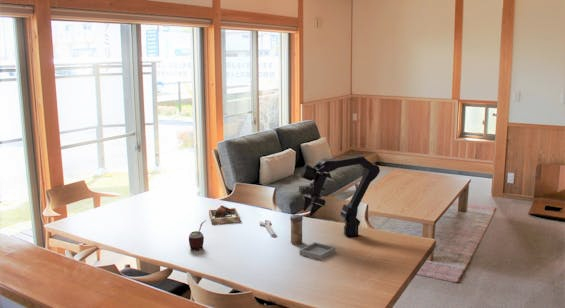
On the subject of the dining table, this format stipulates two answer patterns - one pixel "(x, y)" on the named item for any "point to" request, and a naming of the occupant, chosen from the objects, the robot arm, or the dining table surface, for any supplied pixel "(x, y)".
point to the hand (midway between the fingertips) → (307, 213)
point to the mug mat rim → (226, 219)
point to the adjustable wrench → (268, 227)
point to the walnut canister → (296, 229)
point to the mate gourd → (196, 239)
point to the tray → (317, 251)
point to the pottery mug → (222, 212)
